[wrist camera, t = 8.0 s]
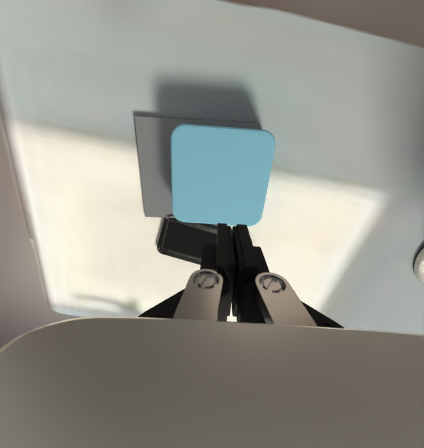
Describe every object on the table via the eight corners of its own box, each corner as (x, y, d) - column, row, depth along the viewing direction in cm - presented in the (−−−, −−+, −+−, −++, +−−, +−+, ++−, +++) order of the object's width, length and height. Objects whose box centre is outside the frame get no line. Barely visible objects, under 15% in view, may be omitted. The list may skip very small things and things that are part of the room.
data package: (268, 130, 26) (176, 123, 26) (279, 130, 22) (169, 122, 22) (254, 214, 31) (177, 209, 31) (260, 227, 27) (171, 221, 27)
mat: (258, 123, 26) (259, 122, 26) (245, 219, 32) (245, 221, 32) (136, 116, 26) (134, 116, 25) (146, 215, 32) (145, 216, 32)
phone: (166, 212, 31) (254, 240, 33) (167, 209, 32) (253, 236, 34) (155, 252, 34) (236, 275, 36) (157, 249, 35) (235, 271, 37)
